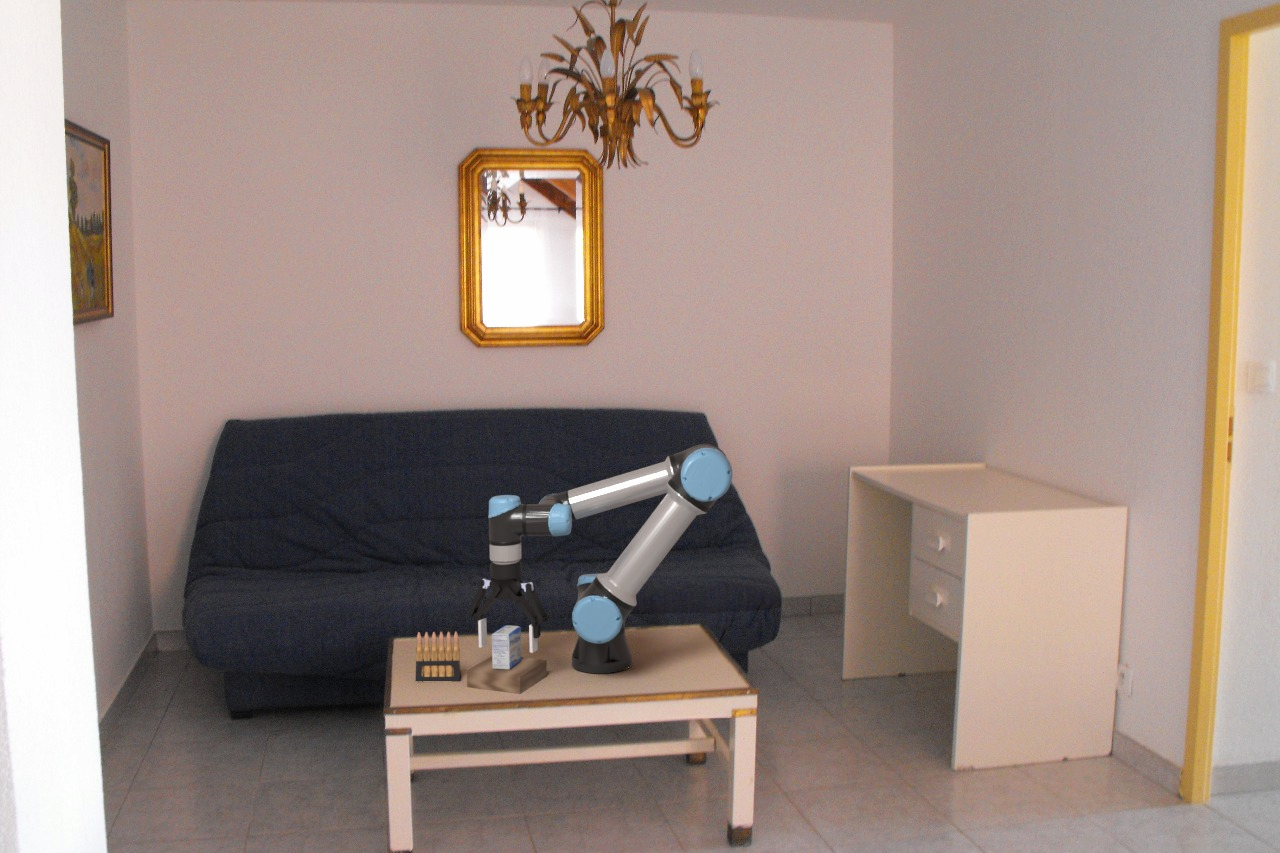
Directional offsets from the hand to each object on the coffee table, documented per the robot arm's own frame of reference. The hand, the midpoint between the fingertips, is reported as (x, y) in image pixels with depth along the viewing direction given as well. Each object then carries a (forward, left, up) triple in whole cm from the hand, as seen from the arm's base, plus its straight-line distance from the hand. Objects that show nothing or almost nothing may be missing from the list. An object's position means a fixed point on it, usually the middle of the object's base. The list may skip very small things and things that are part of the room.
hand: (508, 648), depth 268 cm
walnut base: (0, 0, -8) cm, 8 cm away
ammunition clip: (+16, +5, -8) cm, 19 cm away
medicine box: (0, 0, -4) cm, 4 cm away
